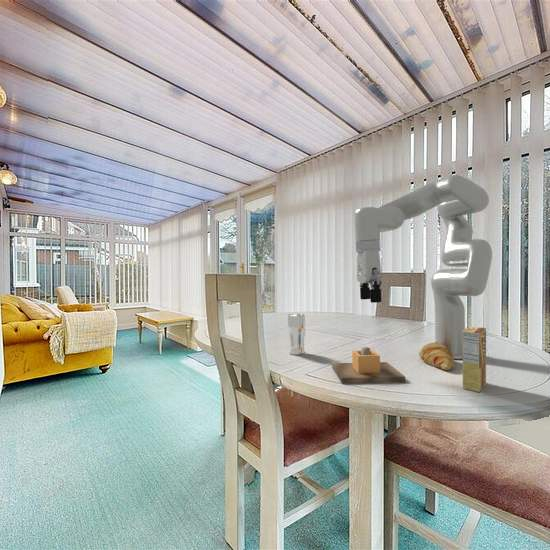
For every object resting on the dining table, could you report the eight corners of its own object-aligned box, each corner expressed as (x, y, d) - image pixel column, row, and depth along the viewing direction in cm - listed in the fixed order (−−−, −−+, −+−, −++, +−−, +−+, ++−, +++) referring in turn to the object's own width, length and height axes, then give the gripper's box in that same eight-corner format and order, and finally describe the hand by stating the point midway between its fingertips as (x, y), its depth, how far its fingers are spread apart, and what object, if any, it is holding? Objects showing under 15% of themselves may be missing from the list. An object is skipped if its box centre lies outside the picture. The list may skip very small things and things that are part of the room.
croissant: (459, 384, 91) (472, 361, 90) (427, 368, 92) (440, 345, 92) (433, 362, 112) (444, 343, 111) (408, 349, 113) (418, 331, 113)
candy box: (469, 379, 85) (468, 326, 85) (487, 383, 82) (486, 327, 82) (462, 388, 79) (461, 330, 79) (481, 393, 76) (480, 332, 76)
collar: (372, 365, 95) (372, 350, 95) (380, 372, 88) (379, 355, 88) (352, 366, 95) (352, 350, 95) (358, 373, 88) (358, 356, 88)
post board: (386, 366, 98) (386, 342, 98) (405, 381, 84) (404, 353, 84) (332, 367, 98) (331, 343, 98) (341, 383, 84) (341, 355, 84)
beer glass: (305, 350, 120) (305, 313, 120) (306, 355, 114) (305, 316, 113) (288, 350, 121) (287, 313, 121) (287, 355, 114) (286, 316, 114)
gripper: (349, 249, 104) (351, 298, 104) (365, 245, 87) (367, 304, 87) (370, 248, 104) (372, 297, 104) (390, 244, 87) (393, 303, 87)
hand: (370, 300), depth 96 cm, fingers open, 9 cm apart
